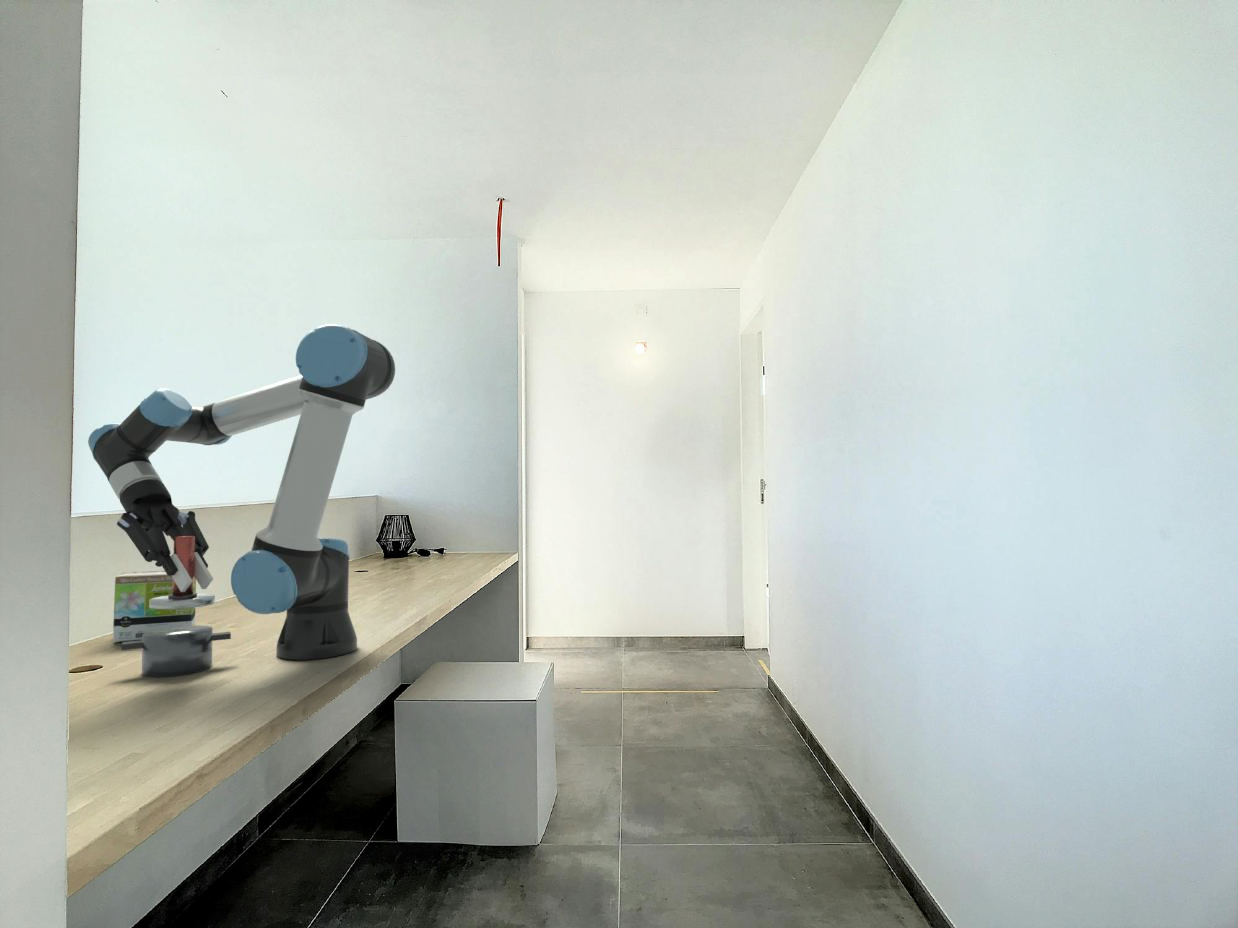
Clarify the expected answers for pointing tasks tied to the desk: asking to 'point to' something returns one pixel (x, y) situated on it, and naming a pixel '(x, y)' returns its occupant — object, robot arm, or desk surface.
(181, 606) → the lid
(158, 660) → the pot
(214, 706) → the desk surface
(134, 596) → the tea box
